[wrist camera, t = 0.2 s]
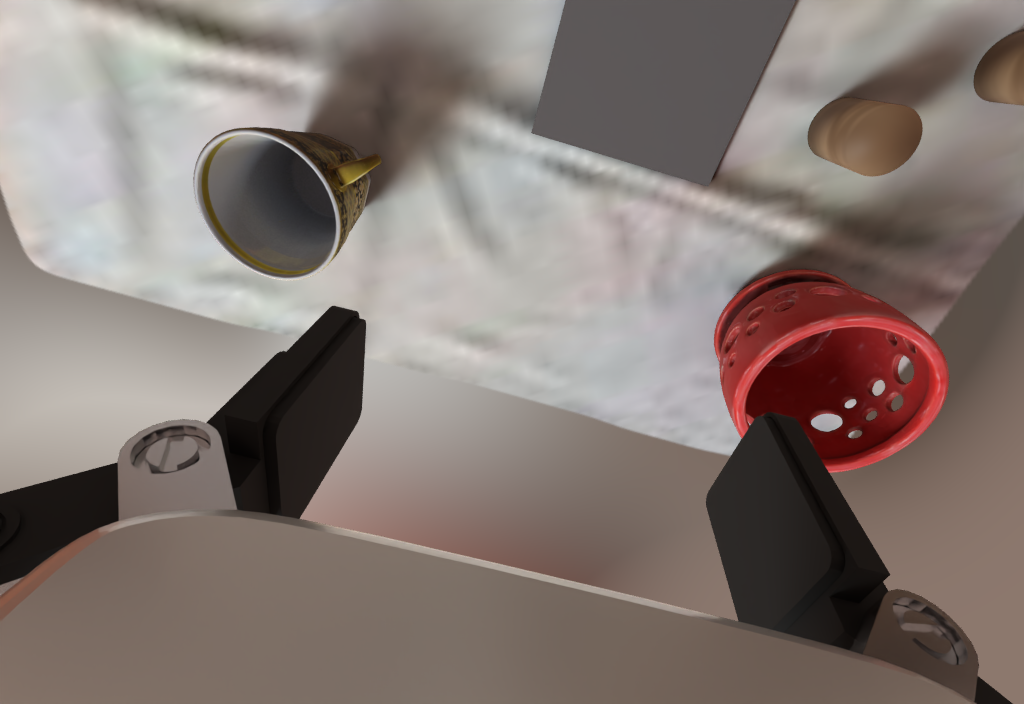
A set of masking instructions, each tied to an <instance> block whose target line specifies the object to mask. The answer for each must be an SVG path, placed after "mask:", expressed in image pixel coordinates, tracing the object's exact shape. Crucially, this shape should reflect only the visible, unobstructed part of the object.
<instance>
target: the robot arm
mask: <svg viewBox="0 0 1024 704" xmlns="http://www.w3.org/2000/svg"><path fill="white" fill-rule="evenodd" d="M365 336H366V321H365V320H364V319H360V318H359V313H358V312H357V311H353V310H349V309H345V308H341V307H337V306H332V307H330V308H329V309H328V310H327V311H326V312H325V313H324V314H323V315H322V316H321V317H320V318H319V319H318V320H317V321H316V322H315V323H314V324H313V325H312V326H311V327H310V328H309V329H308V330H307V331H306V332H305V333H304V334H303V335H302V336H301V337H300V338H299V339H298V340H297V341H296V342H295V344H293V346H292V347H291V348H290V349H289V350H288V351H287V352H285V351H282V352H279V353H277V354H276V355H275V356H274V357H273V358H272V359H271V360H270V361H269V362H268V363H267V364H266V365H265V366H264V367H262V368H261V369H260V371H258V372H257V373H256V374H255V375H254V376H253V377H252V378H251V379H250V380H249V381H248V382H247V383H246V384H245V385H244V386H243V387H242V388H241V389H240V390H239V391H238V392H237V393H236V394H235V395H234V396H233V397H232V398H231V399H230V400H229V401H228V402H227V403H226V404H225V405H224V406H223V407H222V408H221V409H220V410H219V411H218V412H217V413H216V414H215V415H214V416H213V417H212V418H211V419H210V420H209V421H208V422H207V423H204V422H201V421H197V420H185V419H182V420H172V421H166V422H163V423H159V424H156V425H152V426H151V427H148V428H146V429H144V430H142V431H140V432H138V433H137V434H136V435H134V436H133V437H132V438H130V439H129V440H128V441H127V442H126V443H125V445H124V446H123V447H122V448H121V450H120V453H119V457H118V463H114V464H110V465H107V466H103V467H99V468H96V469H92V470H88V471H84V472H80V473H77V474H73V475H69V476H65V477H62V478H58V479H54V480H51V481H47V482H43V483H39V484H36V485H32V486H28V487H25V488H21V489H17V490H13V491H10V492H6V493H2V494H0V704H1012V703H1011V702H1010V701H1009V700H1007V699H1006V698H1005V697H1003V696H1002V695H1001V694H1000V693H999V692H997V691H996V690H995V689H994V688H992V687H991V686H990V685H989V684H987V683H986V682H985V681H983V680H982V679H981V678H980V677H978V669H979V663H978V655H977V653H976V651H975V649H974V646H973V644H972V642H971V641H970V640H969V638H968V637H967V635H966V634H965V633H964V631H963V630H962V629H961V628H960V627H959V626H958V625H957V623H956V622H954V621H953V619H952V618H951V617H950V616H949V615H947V614H946V613H945V612H944V611H942V610H941V609H940V608H939V607H937V606H936V605H935V604H933V603H931V602H930V601H928V600H927V599H925V598H923V597H922V596H919V595H917V594H914V593H912V592H909V591H905V590H900V589H895V590H891V591H888V590H887V588H886V586H885V585H884V583H883V581H884V580H885V579H886V578H887V577H888V576H889V575H890V573H889V572H888V570H887V568H886V567H885V565H884V563H883V562H882V560H881V559H880V557H879V555H878V553H877V552H876V550H875V549H874V547H873V545H872V543H871V542H870V540H869V538H868V537H867V535H866V533H865V532H864V530H863V528H862V527H861V525H860V524H859V522H858V520H857V518H856V517H855V515H854V513H853V512H852V510H851V508H850V507H849V505H848V503H847V502H846V500H845V498H844V497H843V495H842V493H841V492H840V490H839V489H838V487H837V485H836V483H835V482H834V480H833V478H832V477H831V475H830V473H829V472H828V470H827V468H826V467H825V465H824V463H823V462H822V460H821V458H820V457H819V455H818V453H817V452H816V450H815V448H814V447H813V445H812V443H811V442H810V440H809V438H808V437H807V435H806V433H805V432H804V430H803V428H802V427H801V425H800V423H799V422H798V421H797V419H796V418H793V417H789V416H785V415H781V414H777V413H773V412H767V413H766V414H764V415H763V416H758V417H756V418H755V419H754V421H753V422H752V424H751V425H750V427H749V428H748V430H747V432H746V433H745V435H744V436H743V438H742V439H741V441H740V443H739V444H738V446H737V447H736V449H735V450H734V452H733V454H732V455H731V457H730V458H729V460H728V462H727V463H726V465H725V466H724V468H723V469H722V471H721V473H720V474H719V476H718V477H717V479H716V480H715V482H714V484H713V485H712V487H711V489H710V490H709V492H708V494H707V498H706V507H707V510H708V514H709V517H710V521H711V525H712V528H713V532H714V535H715V539H716V542H717V546H718V549H719V553H720V556H721V560H722V564H723V567H724V570H725V574H726V578H727V581H728V585H729V588H730V592H731V596H732V599H733V603H734V606H735V610H736V613H737V617H738V620H739V621H735V620H730V619H726V618H722V617H718V616H714V615H709V614H705V613H702V612H698V611H693V610H689V609H685V608H681V607H677V606H673V605H669V604H665V603H661V602H657V601H652V600H649V599H644V598H640V597H636V596H632V595H627V594H624V593H619V592H615V591H611V590H607V589H603V588H598V587H594V586H590V585H586V584H582V583H578V582H573V581H569V580H565V579H561V578H557V577H552V576H548V575H544V574H540V573H536V572H531V571H527V570H523V569H518V568H514V567H510V566H506V565H502V564H497V563H493V562H489V561H484V560H480V559H476V558H472V557H468V556H463V555H459V554H455V553H450V552H446V551H442V550H437V549H433V548H429V547H424V546H420V545H416V544H411V543H407V542H403V541H399V540H394V539H390V538H386V537H382V536H377V535H372V534H368V533H363V532H358V531H354V530H349V529H344V528H340V527H335V526H330V525H326V524H321V523H317V522H312V521H307V520H302V519H300V517H301V515H302V513H303V512H304V510H305V509H306V507H307V505H308V504H309V502H310V500H311V499H312V497H313V495H314V494H315V492H316V490H317V489H318V487H319V485H320V484H321V482H322V480H323V479H324V477H325V475H326V474H327V472H328V471H329V469H330V467H331V466H332V464H333V462H334V461H335V459H336V457H337V456H338V454H339V452H340V450H341V449H342V447H343V446H344V444H345V442H346V440H347V439H348V437H349V436H350V434H351V432H352V431H353V429H354V427H355V426H356V424H357V422H358V420H359V418H360V415H361V410H362V396H363V395H362V394H363V376H364V356H365Z"/></svg>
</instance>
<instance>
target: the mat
mask: <svg viewBox="0 0 1024 704" xmlns="http://www.w3.org/2000/svg"><path fill="white" fill-rule="evenodd" d="M795 1H796V0H566V1H565V5H564V9H563V13H562V17H561V21H560V25H559V28H558V32H557V36H556V40H555V44H554V48H553V52H552V55H551V59H550V63H549V67H548V71H547V75H546V79H545V82H544V86H543V90H542V94H541V98H540V102H539V106H538V110H537V113H536V117H535V121H534V125H533V129H532V133H533V134H536V135H540V136H543V137H546V138H549V139H553V140H556V141H559V142H563V143H566V144H569V145H573V146H576V147H579V148H582V149H586V150H589V151H592V152H596V153H599V154H602V155H606V156H609V157H612V158H615V159H619V160H622V161H625V162H629V163H632V164H635V165H639V166H642V167H645V168H648V169H652V170H655V171H658V172H662V173H665V174H668V175H672V176H675V177H678V178H681V179H685V180H688V181H691V182H695V183H698V184H701V185H704V186H709V183H710V181H711V179H712V177H713V175H714V173H715V171H716V169H717V166H718V164H719V162H720V160H721V158H722V156H723V154H724V152H725V149H726V147H727V145H728V143H729V141H730V139H731V137H732V135H733V133H734V130H735V128H736V126H737V124H738V122H739V120H740V118H741V116H742V113H743V111H744V109H745V107H746V105H747V103H748V101H749V99H750V96H751V94H752V92H753V90H754V88H755V86H756V84H757V82H758V80H759V77H760V75H761V73H762V71H763V69H764V67H765V65H766V63H767V60H768V58H769V56H770V54H771V52H772V50H773V48H774V46H775V43H776V41H777V39H778V37H779V35H780V33H781V31H782V29H783V26H784V24H785V22H786V20H787V18H788V16H789V14H790V12H791V10H792V7H793V5H794V3H795Z"/></svg>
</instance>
